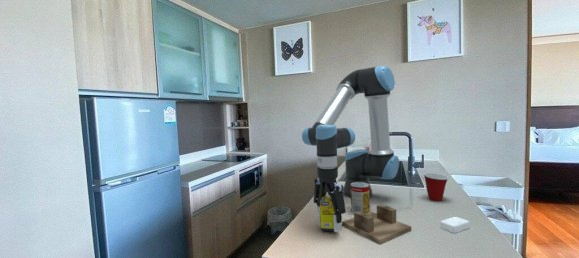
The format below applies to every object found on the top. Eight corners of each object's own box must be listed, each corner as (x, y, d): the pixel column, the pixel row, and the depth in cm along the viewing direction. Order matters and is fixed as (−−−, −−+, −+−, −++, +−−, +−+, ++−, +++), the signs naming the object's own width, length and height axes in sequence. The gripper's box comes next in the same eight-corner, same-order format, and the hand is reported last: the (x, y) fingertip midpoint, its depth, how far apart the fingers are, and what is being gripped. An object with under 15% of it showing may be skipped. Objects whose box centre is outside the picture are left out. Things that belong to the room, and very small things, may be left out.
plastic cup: (451, 204, 118) (451, 178, 118) (424, 202, 122) (424, 177, 122) (446, 196, 128) (446, 173, 128) (422, 195, 133) (422, 171, 132)
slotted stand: (342, 225, 100) (341, 208, 100) (372, 215, 109) (371, 200, 109) (380, 244, 85) (379, 224, 85) (411, 230, 94) (411, 213, 93)
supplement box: (337, 231, 94) (336, 201, 93) (320, 230, 95) (319, 201, 94) (337, 224, 99) (336, 196, 99) (322, 223, 101) (321, 196, 100)
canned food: (371, 209, 116) (370, 182, 115) (367, 215, 109) (367, 187, 108) (353, 207, 119) (353, 181, 119) (349, 213, 112) (348, 185, 112)
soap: (455, 223, 99) (455, 215, 99) (470, 228, 94) (470, 220, 94) (439, 228, 96) (439, 220, 95) (454, 234, 91) (454, 226, 90)
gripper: (302, 164, 103) (305, 219, 104) (339, 173, 85) (341, 240, 86) (317, 161, 107) (319, 215, 108) (355, 169, 89) (357, 234, 90)
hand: (329, 226), depth 97 cm, fingers closed on supplement box, 8 cm apart
